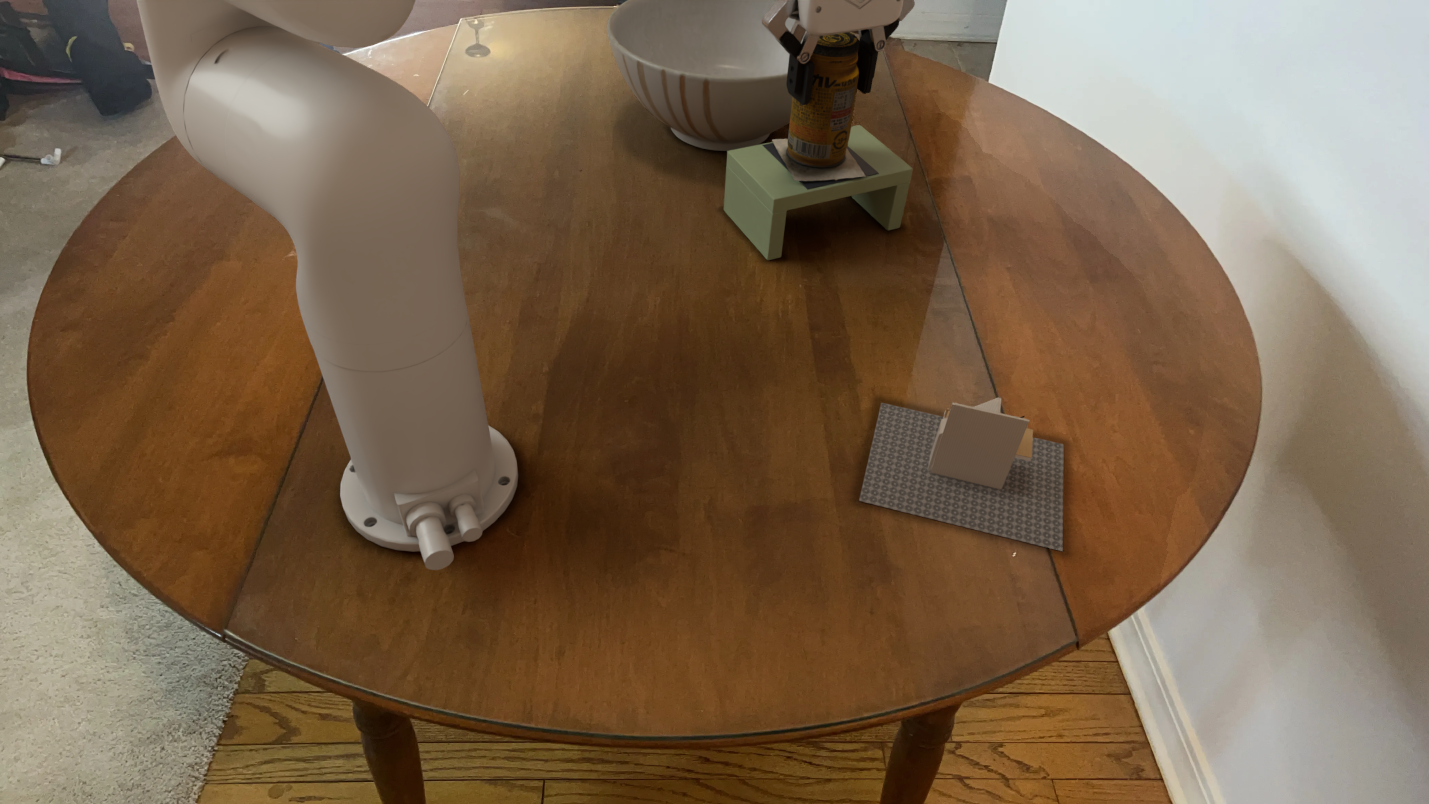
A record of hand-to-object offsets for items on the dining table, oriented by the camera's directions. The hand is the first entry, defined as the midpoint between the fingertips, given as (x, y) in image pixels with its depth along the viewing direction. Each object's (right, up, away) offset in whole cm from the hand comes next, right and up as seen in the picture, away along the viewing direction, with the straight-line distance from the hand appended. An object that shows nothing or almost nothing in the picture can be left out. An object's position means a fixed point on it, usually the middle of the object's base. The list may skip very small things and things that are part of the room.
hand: (829, 91), depth 86 cm
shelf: (-1, -10, +10) cm, 14 cm away
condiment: (-1, -5, +5) cm, 7 cm away
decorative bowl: (-10, +4, +24) cm, 26 cm away
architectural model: (+9, -35, -15) cm, 39 cm away
